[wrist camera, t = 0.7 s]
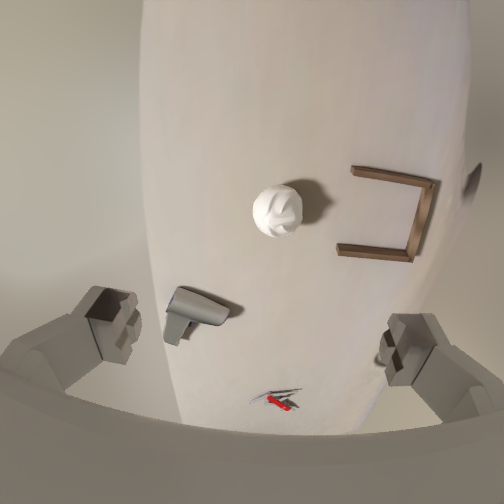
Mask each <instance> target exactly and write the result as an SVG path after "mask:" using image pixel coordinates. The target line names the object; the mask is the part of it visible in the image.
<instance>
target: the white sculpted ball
mask: <svg viewBox="0 0 504 504" xmlns="http://www.w3.org/2000/svg"><path fill="white" fill-rule="evenodd" d="M253 217H254V220H255V223H256V225H257V226H258V228H259V229H260V230H261V231H262V232H263V233H265V234H267V235H269V236H271V237H277V238H282V237H286V236H289V235H291V234H292V233H294V232H295V230H296V229H297V228H298V227H299V225H300V224H301V222H302V220H303V217H302V198H301V197H300V196H299V195H298V194H297V192H296V190H294V189H293V188H291V187H288V186H285V185H278V186H272V187H269V188H267V189H266V190H264V191H263V192H262V193H261V194H260V195H259V196H258V197H257V199H256V200H255V201H254V204H253Z"/></svg>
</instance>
